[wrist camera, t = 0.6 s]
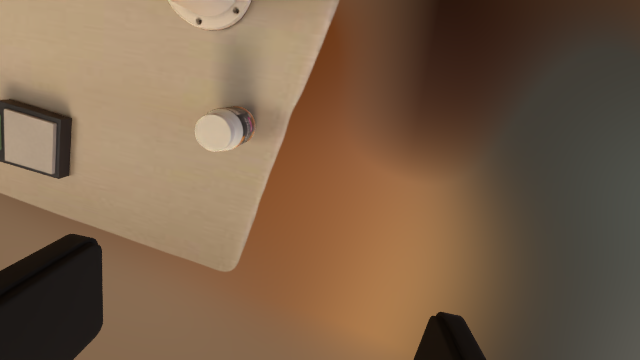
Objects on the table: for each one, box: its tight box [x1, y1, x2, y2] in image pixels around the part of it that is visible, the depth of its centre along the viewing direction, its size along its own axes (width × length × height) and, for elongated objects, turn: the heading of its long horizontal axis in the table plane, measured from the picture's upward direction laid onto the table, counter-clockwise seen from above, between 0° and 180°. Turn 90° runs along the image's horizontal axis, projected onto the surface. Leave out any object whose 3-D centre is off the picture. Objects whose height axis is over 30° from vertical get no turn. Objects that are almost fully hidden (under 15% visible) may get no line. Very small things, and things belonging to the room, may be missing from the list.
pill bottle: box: [195, 107, 255, 152], centre depth 42 cm, size 6×6×10 cm
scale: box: [0, 99, 72, 179], centre depth 48 cm, size 10×10×3 cm
